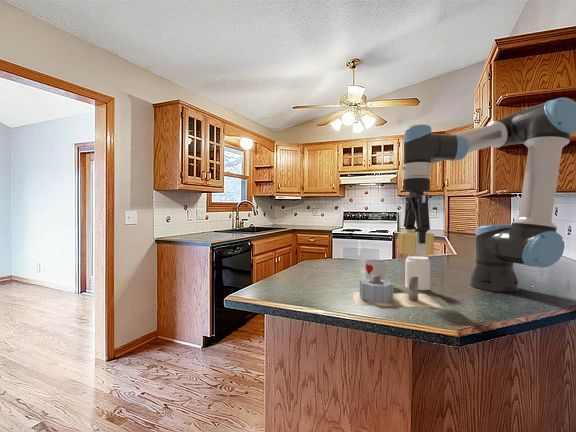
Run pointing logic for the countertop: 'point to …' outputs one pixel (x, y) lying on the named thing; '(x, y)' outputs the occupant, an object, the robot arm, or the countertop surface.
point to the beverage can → (418, 271)
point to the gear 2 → (414, 243)
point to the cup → (376, 268)
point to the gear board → (401, 296)
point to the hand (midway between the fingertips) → (415, 252)
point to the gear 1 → (376, 291)
